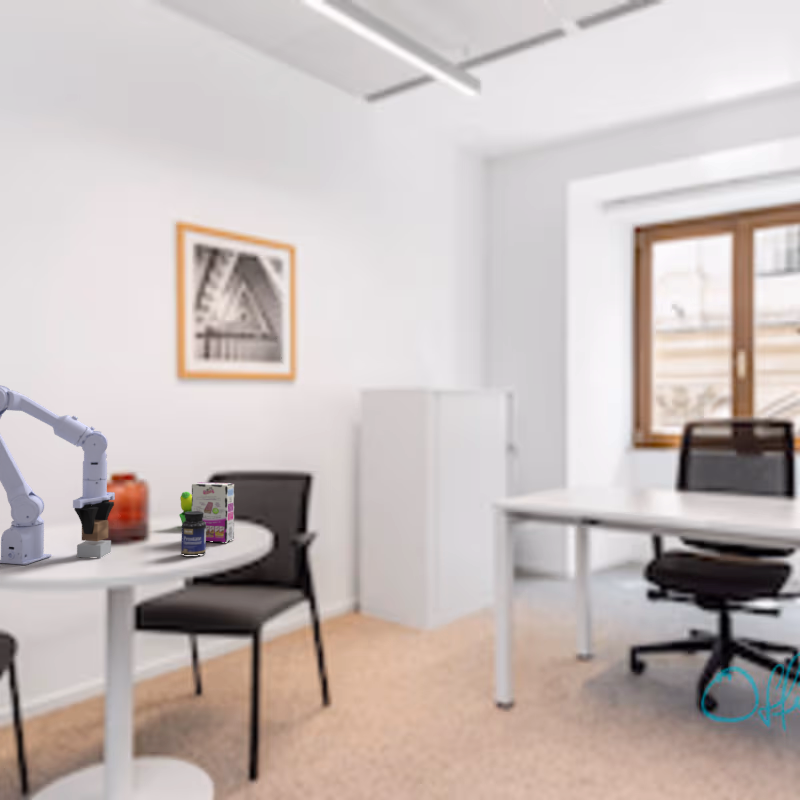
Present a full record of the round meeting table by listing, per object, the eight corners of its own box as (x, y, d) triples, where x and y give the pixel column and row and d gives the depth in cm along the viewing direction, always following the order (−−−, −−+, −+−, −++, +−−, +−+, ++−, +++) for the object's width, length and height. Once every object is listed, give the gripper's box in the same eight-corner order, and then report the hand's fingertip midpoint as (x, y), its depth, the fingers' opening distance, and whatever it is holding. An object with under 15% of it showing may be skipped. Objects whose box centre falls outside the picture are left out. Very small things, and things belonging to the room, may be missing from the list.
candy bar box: (234, 540, 202) (235, 483, 201) (226, 543, 197) (227, 485, 197) (199, 537, 204) (200, 481, 204) (190, 541, 199) (191, 483, 199)
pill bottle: (180, 558, 180) (181, 514, 179) (181, 552, 185) (182, 510, 185) (205, 556, 181) (206, 514, 181) (205, 551, 187) (206, 510, 187)
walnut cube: (97, 541, 178) (97, 523, 178) (81, 540, 179) (81, 522, 179) (108, 537, 183) (108, 520, 183) (92, 536, 184) (92, 519, 184)
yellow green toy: (203, 531, 213) (203, 494, 213) (174, 531, 213) (174, 494, 213) (213, 524, 225) (214, 489, 225) (185, 524, 225) (186, 488, 225)
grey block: (100, 559, 178) (100, 545, 178) (76, 558, 178) (77, 545, 178) (110, 553, 184) (110, 540, 184) (88, 553, 184) (88, 539, 184)
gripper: (91, 483, 173) (90, 538, 173) (125, 476, 187) (124, 527, 187) (65, 482, 174) (65, 536, 175) (101, 475, 189) (100, 526, 189)
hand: (94, 531), depth 181 cm, fingers closed on walnut cube, 4 cm apart
